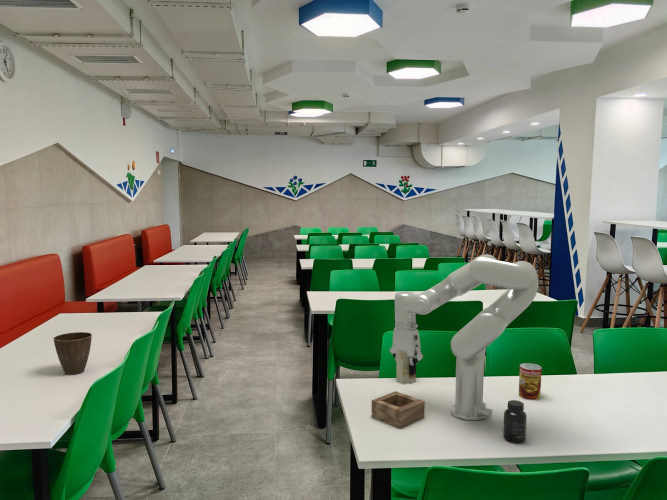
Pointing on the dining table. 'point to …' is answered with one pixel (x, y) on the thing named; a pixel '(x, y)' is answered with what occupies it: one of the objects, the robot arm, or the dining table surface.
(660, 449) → the dining table surface
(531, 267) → the robot arm
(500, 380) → the dining table surface
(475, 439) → the dining table surface
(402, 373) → the skincare box
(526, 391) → the canned food
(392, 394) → the socket block
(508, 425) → the supplement bottle
